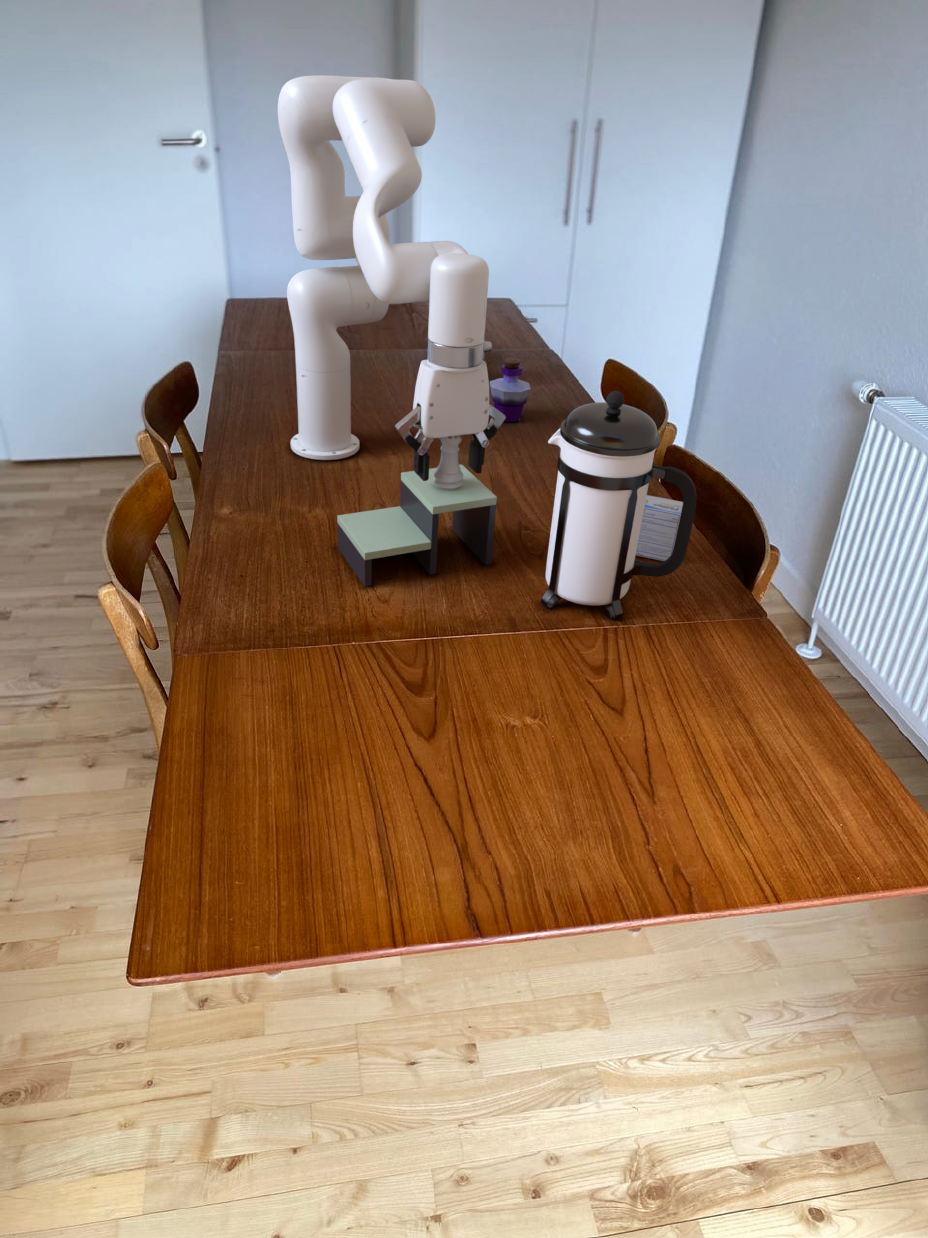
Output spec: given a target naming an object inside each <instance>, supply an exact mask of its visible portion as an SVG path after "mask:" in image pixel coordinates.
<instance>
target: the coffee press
mask: <svg viewBox="0 0 928 1238" xmlns="http://www.w3.org/2000/svg"><path fill="white" fill-rule="evenodd" d="M624 403H625V397H624V394H623V393H622V392H620V391H619V390H613V391H611V392H610V393H608V395H607V396H606V398H605V401H602V402H599V401H598V402H590V403H586V404H583V405H580V406H578V407H576V408H574V409H573V410H572V411H570V412H569V414H568V415H567V417H566V418H565V419H564V420H563V421H562V422H561V423H560V427H559V428H558V429H557V430H556V431H555V433H553V434H552V435H551V437H550V438H549V439H548V441H547V443H548V444H549V445H555V446H558V447H559V451H558V454H557V462H556V468H557V477H556V485H555V493H554V500H553V501H554V502H553V509H552V517H551V526H550V533H549V541H548V549H547V555H546V556H547V557H546V565H545V582H546V584H547V585H548V587H547V590H546V591H545V593H544V595H543V596H542V597H541V599H540V603H541V604H542V605H543V606H544V607H545V608H546V609H548V610H549V609H552V608H554V607H555V606H556V604H557V603H558V602H559V601H561V600H562V599H564V600H565V601H568V602H572V603H574V604H578V605H584V606H603V607H604V608H605V610H606V613H607V614H608V617H609V619H611V620H612V621H613V620H618V619H621V618H622V617H623V616H624V611H623V607H622V604H621V599H622V598H623V597H625V596H626V594H627V593H628V591H629V589H630V585H631V581H632V578H633V577H634V576H642V577H651V578H652V577H653V578H656V577H657V578H658V577H666V576H669V575H670V574H672V573H674V572H676V571H677V570H678V569H679V567H680V566H681V565H682V563H683V562H684V559H685V557H686V554H687V551H688V546H689V542H690V537H691V534H692V528H693V524H694V520H695V514H696V510H697V509H696V508H697V490H696V486H695V483H694V481H693V479H692V478H691V477H690V476H689V474H688V473H686V472H685V471H683V470H681V469H679V468H677V467H674V466H671V465H670V466H669V465H667V466H663V465H655V461H654V458H655V452H656V450H657V449H658V447H659V446H660V443H661V434H660V432H659V430H658V427H657V425H656V422H655V421H654V419H653V418H652V416H650V415H648V414H647V413H646V412H644V411H643V410H641V409H639V408H636V407H634V406H630V405H627V404H624ZM652 479H660V480H664V481H665V482H669V483H672V484H674V485H675V486H677V487H678V488H679V490H680V492H681V494H682V502H683V506H682V511H681V516H680V521H679V525H678V530H677V535H676V540H675V544H674V549H673V552H672V554H671V556H670V557H669V558H668V559H667V560H666V561H661V562H657V563H653V562H644V561H641V560H638V559H637V558H636V550H637V544H638V539H639V533H640V528H641V523H642V517H643V512H644V507H645V501H646V496H647V495H648V491H649V490H648V489H649V483H651V481H652Z"/></svg>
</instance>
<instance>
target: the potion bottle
mask: <svg viewBox="0 0 928 1238" xmlns="http://www.w3.org/2000/svg"><path fill="white" fill-rule="evenodd" d="M503 361H504V363H502V364H500V374H501V375H503V377H499V378H496V379H493V380H489V388H490V394H491V399H492V403H493V407H494V408H496V409H497V410H499V411H500V412H501V413H503V414H504V415H505V416H506V418H505V420H504V422H503V423H511V424H513V423H517V422H519V421H520V422H521V416H522V414H523V413H522V412H523V409H524V407H525V405H526V404H527V402H528V398H529V395H530V392H531V389H532V388H531V386H530V383H529V382H528V381H524V380H521V379H519V376H521V375H523V366H522V365H521V360H520V359H518V358H513V357H507V358H505V359H503Z"/></svg>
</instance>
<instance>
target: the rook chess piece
mask: <svg viewBox="0 0 928 1238" xmlns="http://www.w3.org/2000/svg"><path fill="white" fill-rule="evenodd" d="M438 439H439V441H440V443H441V446H440V448H439V450H440V451H441V452H440V458H439V464H438V466H436V468H437V470H435V473H434V477H435V478H434V479H433V482H434V484H435V485H436V486H437V487H438V488H440V489H444V490H455V489H458V488H459V487H461V486H462V484H463V480H462V479H463V473H462V472H461V471H460V470H461V469H460V467H459V465H460V463H459V452H460V450H461V449H460V447H459V445H460V444H461V442H462V441H463V438H462V437H461V435H459V436H451V437H442V438H438Z"/></svg>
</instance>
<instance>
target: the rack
mask: <svg viewBox="0 0 928 1238" xmlns="http://www.w3.org/2000/svg"><path fill="white" fill-rule="evenodd" d="M459 467H460V469H461V470H460V471H461V472H462V473H463V479H462V480H463V484H462V486H461V487H459V488H458V489H455V490H444V489H440V488H438V487H437V486H436V485H435V484H434V482H433V479H434V478H435V477H434V473H435V470H437V467H433V468H432V467H431V468H429V479H428V480H427V481H423V480H422V479H421V478H420V477H419V476H418V475H417V474H416V473H415V471H414V470H411V471H410V470H409V471H403V472H400V502H399V503H400V504H399V505H398V506H393V507H386V508H385V507H384V508H379V509H371V510H366V511H358V512H352V513H345V514H344V513H343V514H339V515H336V517H337V518H336V522H337V523H336V526H337V527H336V528H337V532H336V533H337V549H338V550H339V552H340V554H341V555H342V556H343V557H344V559H345V561H346V562H347V564H348V565H349V566H350V568H351V569H352V571H353V572H354V573H355V575H356V577H357V578H358V579H359V581H360V583H361V584H362V586H364V588H366V587H371V586H372V560H375V559H380V558H385V557H393V556H398V555H404V554H410V553H411V554H412V555H413V556H414V557H415V559H416V560H417V561H418V562H419V563H420V565H421V566H422V567H423V568H424V569H425V571H426V572H427V573H428V574H429V576H430V575H431V576H432V575H436V574H437V564H438V563H437V560H438V543H439V542H438V541H439V540H438V539H439V521H440V520H439V519H440V514H446V513H451V512H452V526H451V527H452V531H453V532H454V533H455V534H456V535H457V536H458V537H459V538H460V539H461V540H462V541H463V543H465V545H466V546H467V547H468V548H469V549H470V550H471V551H472V553H474V554H475V555H476V556H477V558H478V559H479V560H480V561H481V562H482V563H483V564H484V565H486V566H488V565H491V564H492V560H493V558H492V557H493V548H494V536H495V535H494V534H495V525H496V514H497V502H498V497H497V495H496V494H494V493H493V492H492V491H491V490H490V488H488V487H486V486H485V484H483V482H481V481H480V479H478V477H476V476H475V475H474V474H473V473H472V472H471V471H469V469H467V468H466V467H465V466H464V465H463V464H459Z"/></svg>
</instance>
